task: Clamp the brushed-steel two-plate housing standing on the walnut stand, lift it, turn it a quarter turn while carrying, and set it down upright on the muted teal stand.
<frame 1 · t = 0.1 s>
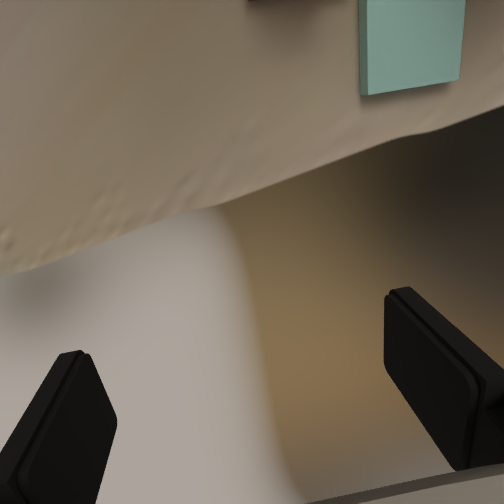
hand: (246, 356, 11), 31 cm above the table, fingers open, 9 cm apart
stand b: (405, 36, 36), on the table
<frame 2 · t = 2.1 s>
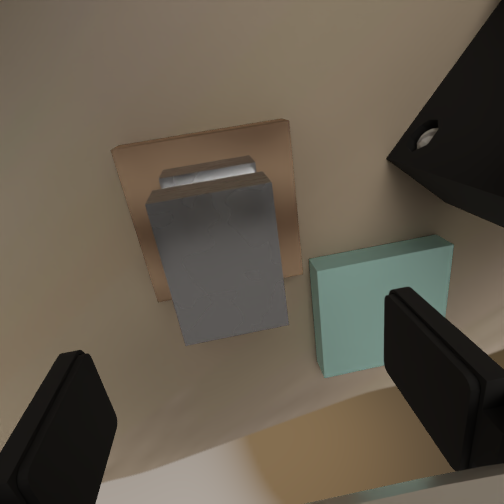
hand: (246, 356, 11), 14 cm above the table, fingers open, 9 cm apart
stand b: (372, 301, 28), on the table
housing: (217, 219, 21), point 2 cm above the table, touching stand a
stand a: (216, 209, 23), on the table
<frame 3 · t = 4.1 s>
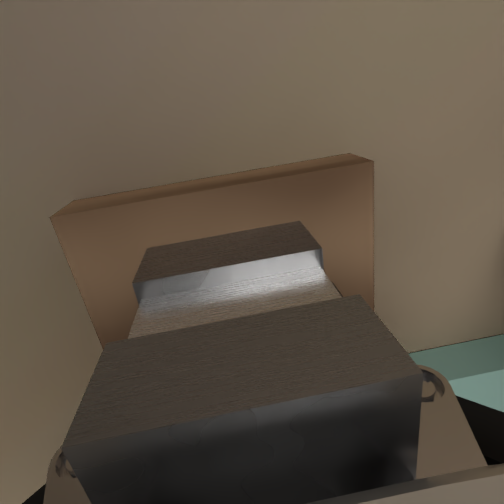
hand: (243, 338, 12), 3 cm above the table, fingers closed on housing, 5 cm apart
stand b: (463, 412, 19), on the table
housing: (241, 323, 12), point 2 cm above the table, touching gripper, stand a
stand a: (237, 295, 14), on the table
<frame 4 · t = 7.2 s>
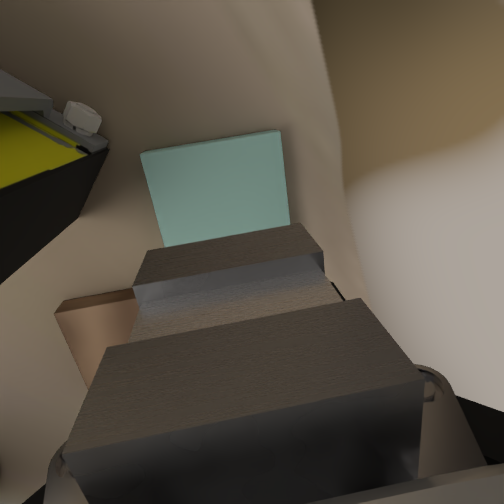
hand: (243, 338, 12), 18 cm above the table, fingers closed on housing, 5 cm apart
stand b: (222, 203, 28), on the table
housing: (241, 325, 12), point 17 cm above the table, touching gripper
stand a: (137, 336, 32), on the table
when the fingers open (4 cm above the table, at t = 10.2 s): housing drops 2 cm, resting on stand b.
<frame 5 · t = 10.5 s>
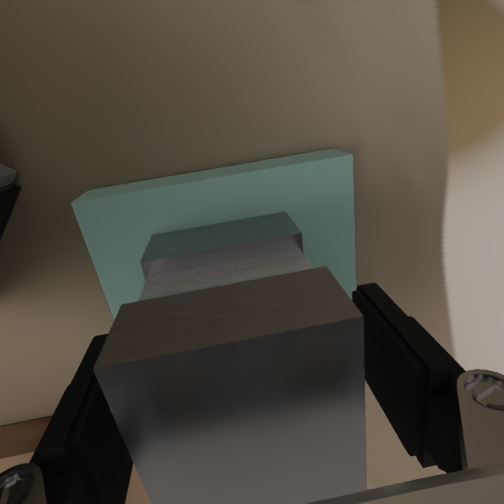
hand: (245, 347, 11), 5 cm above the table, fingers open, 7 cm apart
stand b: (234, 277, 16), on the table
housing: (234, 303, 14), point 2 cm above the table, touching stand b
stand a: (95, 475, 20), on the table
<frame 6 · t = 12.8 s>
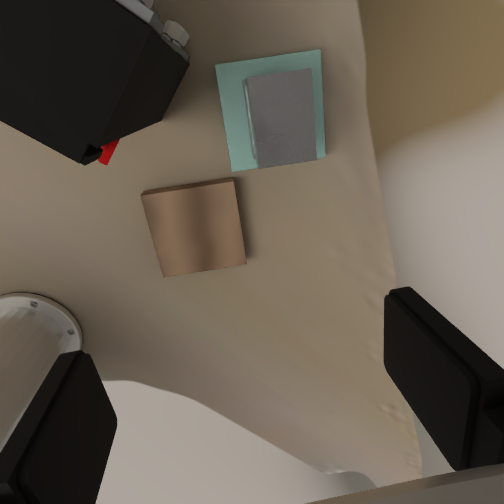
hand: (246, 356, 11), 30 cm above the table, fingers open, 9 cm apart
stand b: (271, 113, 36), on the table
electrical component: (90, 36, 32), on the table
housing: (272, 116, 34), point 2 cm above the table, touching stand b
stand a: (197, 225, 40), on the table
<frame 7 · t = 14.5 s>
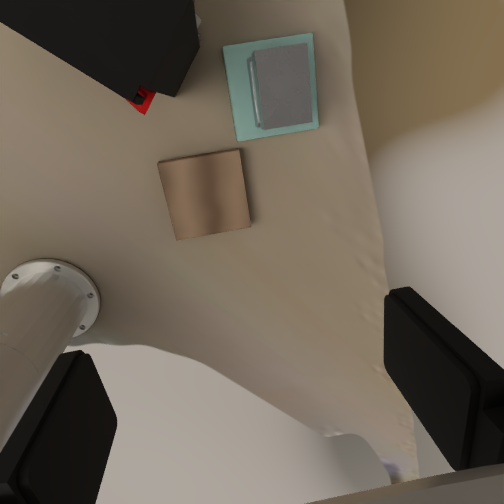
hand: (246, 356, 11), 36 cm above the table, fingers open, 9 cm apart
stand b: (270, 90, 41), on the table
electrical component: (114, 22, 37), on the table
housing: (272, 91, 39), point 2 cm above the table, touching stand b
stand a: (206, 193, 45), on the table
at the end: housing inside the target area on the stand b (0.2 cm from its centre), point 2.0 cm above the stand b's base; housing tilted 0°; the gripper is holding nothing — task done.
